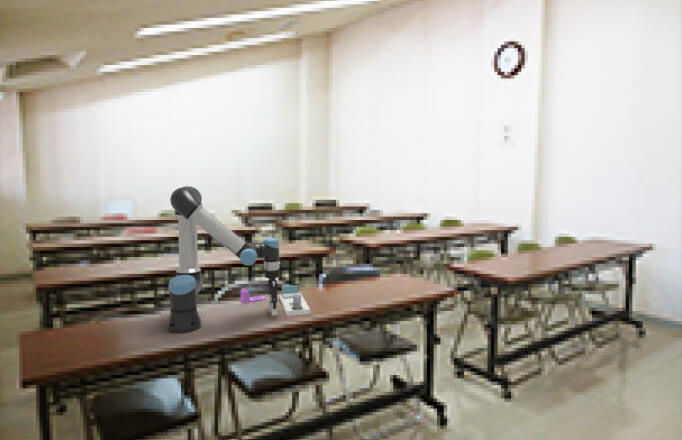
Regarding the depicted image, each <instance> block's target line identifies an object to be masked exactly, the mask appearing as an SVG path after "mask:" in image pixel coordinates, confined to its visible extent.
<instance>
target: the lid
mask: <svg viewBox="0 0 682 440" xmlns="http://www.w3.org/2000/svg"><path fill="white" fill-rule="evenodd" d="M299 287H300V286H299V284H298V285H297V284H296V285H282V286H281V296H282V298H283V299H285V298H293V295H300V294H299V293H300V292H299V289H300V288H299Z"/></svg>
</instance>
